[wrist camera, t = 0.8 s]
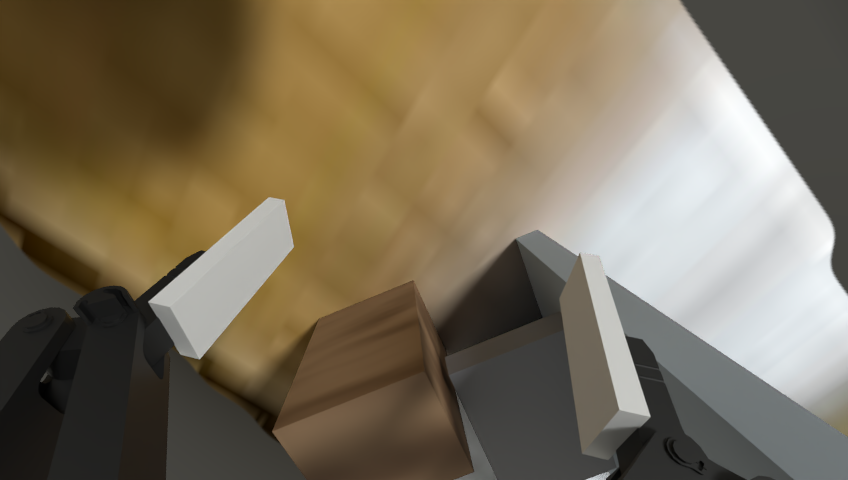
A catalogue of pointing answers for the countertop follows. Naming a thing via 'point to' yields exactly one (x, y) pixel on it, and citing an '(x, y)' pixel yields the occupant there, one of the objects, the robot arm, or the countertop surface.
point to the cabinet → (375, 397)
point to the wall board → (683, 375)
